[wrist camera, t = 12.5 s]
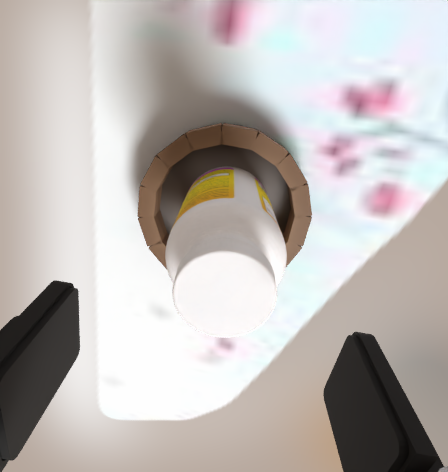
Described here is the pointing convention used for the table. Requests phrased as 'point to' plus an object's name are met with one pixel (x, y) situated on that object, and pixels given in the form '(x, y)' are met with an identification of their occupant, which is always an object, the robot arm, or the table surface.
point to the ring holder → (219, 155)
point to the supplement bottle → (225, 254)
